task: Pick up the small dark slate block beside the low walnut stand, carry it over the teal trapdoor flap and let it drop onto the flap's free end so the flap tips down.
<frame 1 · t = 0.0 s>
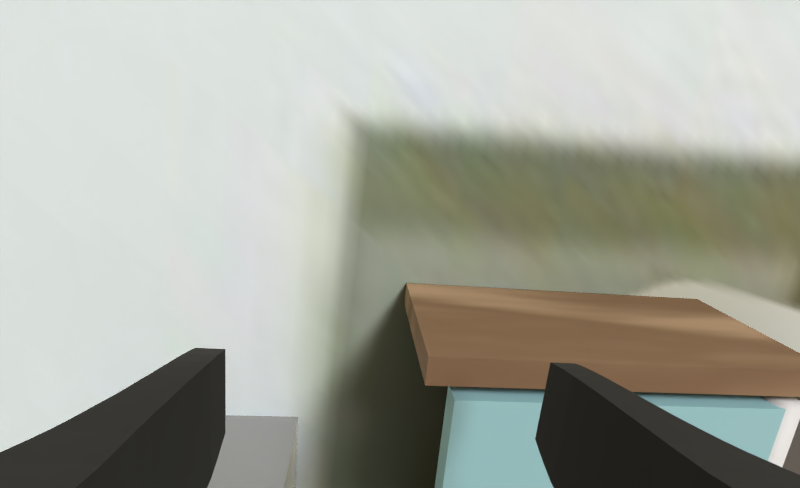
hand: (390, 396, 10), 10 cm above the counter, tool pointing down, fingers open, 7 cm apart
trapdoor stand: (532, 422, 23), on the counter
slate block: (254, 451, 22), on the counter
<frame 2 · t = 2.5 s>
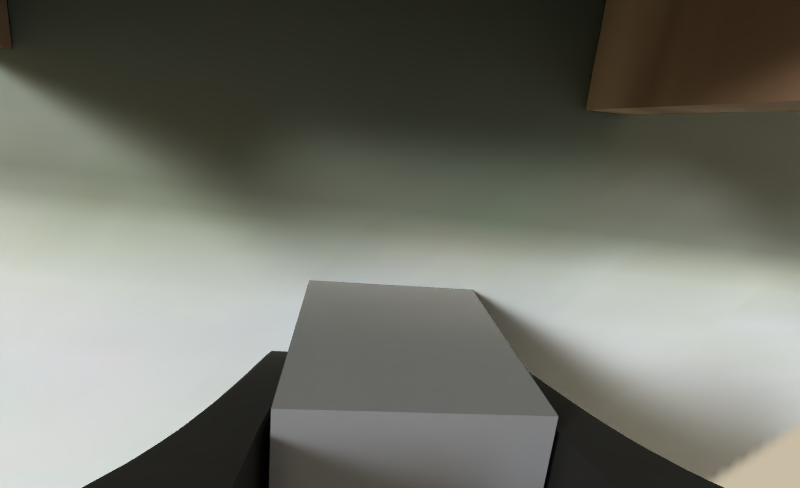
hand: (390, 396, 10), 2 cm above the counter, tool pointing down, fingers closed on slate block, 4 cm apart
slate block: (385, 359, 12), on the counter, touching gripper
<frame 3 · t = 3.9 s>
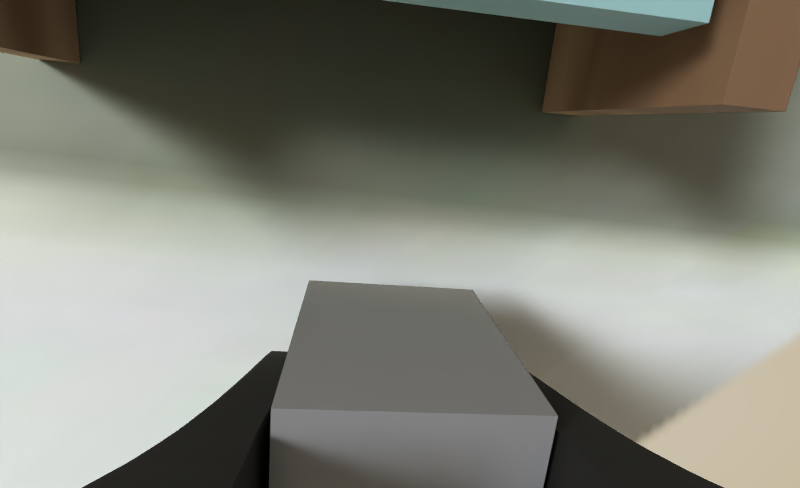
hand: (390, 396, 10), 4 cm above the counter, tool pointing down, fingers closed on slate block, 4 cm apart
slate block: (385, 359, 12), point 2 cm above the counter, touching gripper
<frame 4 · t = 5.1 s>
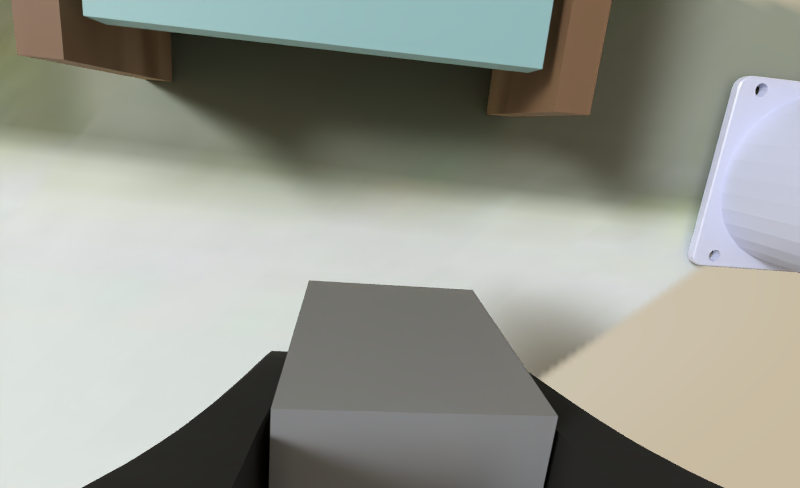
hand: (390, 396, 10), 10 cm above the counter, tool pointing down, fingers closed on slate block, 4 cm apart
slate block: (385, 359, 12), point 8 cm above the counter, touching gripper
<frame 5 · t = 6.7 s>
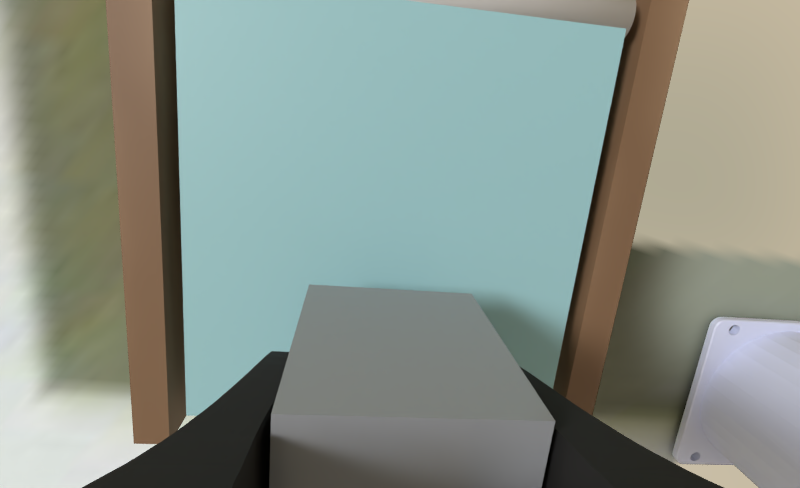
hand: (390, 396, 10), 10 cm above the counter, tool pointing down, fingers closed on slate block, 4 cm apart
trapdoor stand: (380, 192, 19), on the counter
trapdoor flap: (394, 137, 13), point 5 cm above the counter, hinge at 0.0°
slate block: (384, 362, 12), point 8 cm above the counter, touching gripper
when the fingers open (9 cm above the counter, at t = 8.0 s): slate block drops 2 cm, resting on trapdoor flap.
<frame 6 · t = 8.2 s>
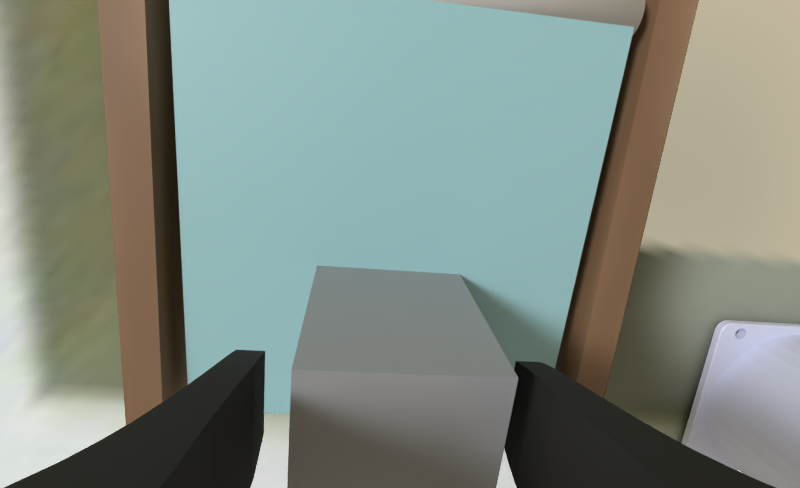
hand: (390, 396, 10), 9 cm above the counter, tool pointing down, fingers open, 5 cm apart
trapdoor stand: (380, 194, 18), on the counter
trapdoor flap: (395, 135, 13), point 5 cm above the counter, hinge at -2.8°, touching slate block
slate block: (383, 333, 13), point 6 cm above the counter, touching trapdoor flap
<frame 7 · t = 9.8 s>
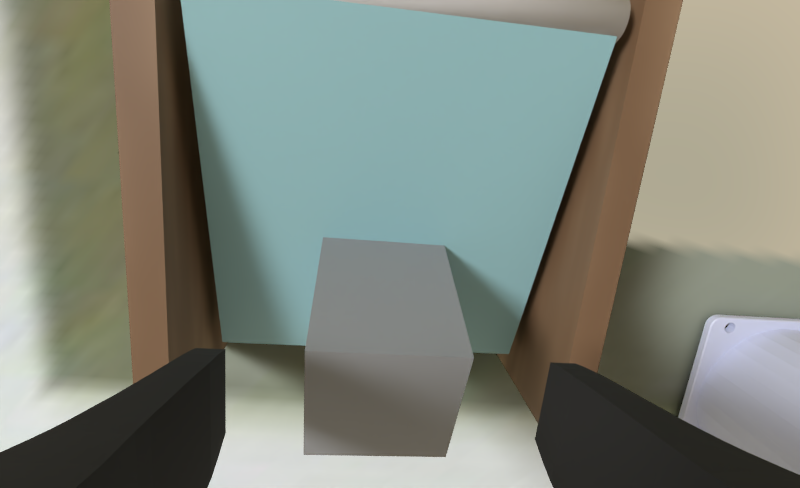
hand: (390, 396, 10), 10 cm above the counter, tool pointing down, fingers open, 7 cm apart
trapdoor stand: (379, 191, 19), on the counter
trapdoor flap: (392, 118, 15), point 4 cm above the counter, hinge at -17.2°, touching slate block
slate block: (378, 289, 16), point 4 cm above the counter, tilted 17°, touching trapdoor flap
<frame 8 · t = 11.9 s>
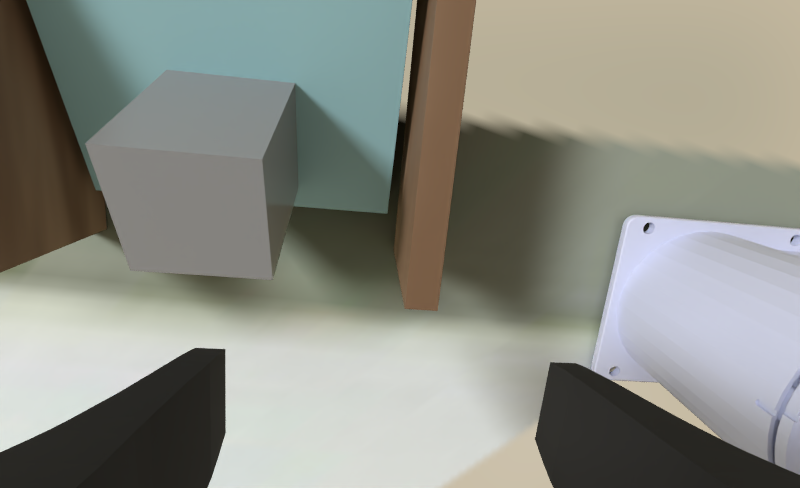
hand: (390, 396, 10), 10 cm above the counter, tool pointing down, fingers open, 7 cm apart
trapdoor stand: (256, 66, 18), on the counter
slate block: (238, 134, 16), point 3 cm above the counter, tilted 25°, touching trapdoor flap
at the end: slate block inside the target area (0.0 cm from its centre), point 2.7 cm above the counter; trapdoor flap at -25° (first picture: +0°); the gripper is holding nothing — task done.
